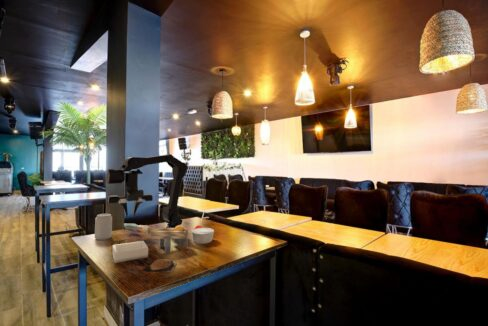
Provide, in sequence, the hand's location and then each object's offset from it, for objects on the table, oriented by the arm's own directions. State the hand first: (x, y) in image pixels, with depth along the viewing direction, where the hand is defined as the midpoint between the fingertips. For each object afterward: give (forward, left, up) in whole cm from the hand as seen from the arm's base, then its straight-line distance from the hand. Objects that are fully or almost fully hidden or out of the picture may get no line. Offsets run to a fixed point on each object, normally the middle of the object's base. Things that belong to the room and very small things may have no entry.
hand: (130, 216), depth 114 cm
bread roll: (-6, +34, -14) cm, 37 cm away
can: (+10, -16, -13) cm, 23 cm away
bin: (+2, +16, -13) cm, 21 cm away
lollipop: (-37, -3, -13) cm, 39 cm away
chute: (-9, +10, -9) cm, 16 cm away
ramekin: (-32, +12, -13) cm, 37 cm away
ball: (-18, +16, -5) cm, 25 cm away
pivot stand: (-12, +16, -13) cm, 24 cm away
